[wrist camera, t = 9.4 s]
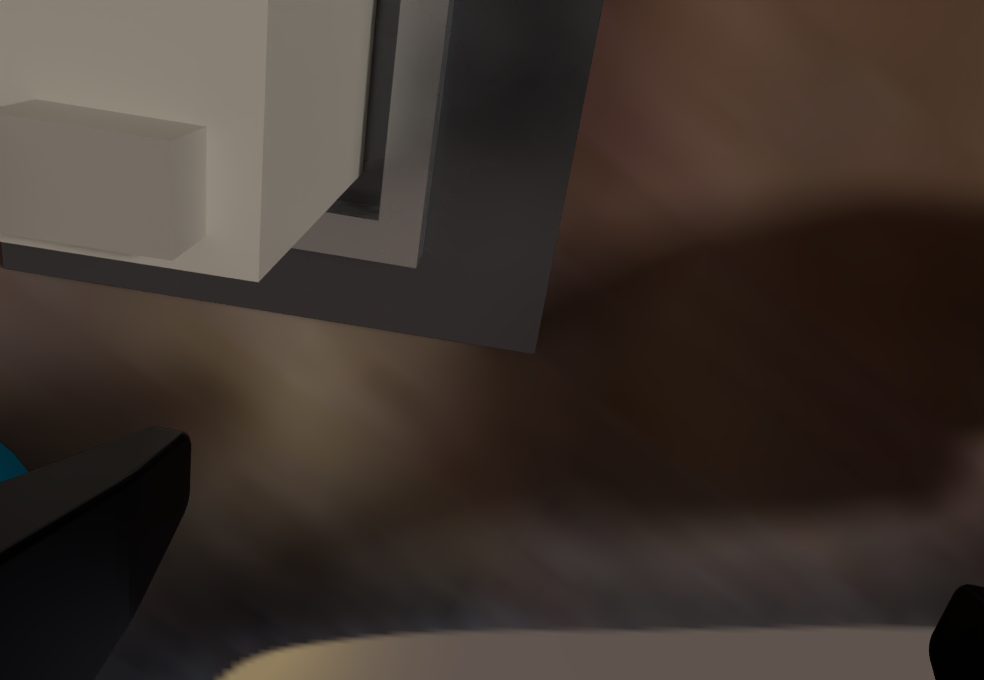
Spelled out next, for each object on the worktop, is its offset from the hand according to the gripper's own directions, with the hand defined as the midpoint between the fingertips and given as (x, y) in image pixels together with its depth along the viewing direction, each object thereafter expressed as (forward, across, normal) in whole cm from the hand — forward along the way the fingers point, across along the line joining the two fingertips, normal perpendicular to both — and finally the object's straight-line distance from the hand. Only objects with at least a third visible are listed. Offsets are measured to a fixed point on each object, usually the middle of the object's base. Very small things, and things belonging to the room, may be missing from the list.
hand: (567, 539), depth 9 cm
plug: (+12, +7, -4) cm, 14 cm away
